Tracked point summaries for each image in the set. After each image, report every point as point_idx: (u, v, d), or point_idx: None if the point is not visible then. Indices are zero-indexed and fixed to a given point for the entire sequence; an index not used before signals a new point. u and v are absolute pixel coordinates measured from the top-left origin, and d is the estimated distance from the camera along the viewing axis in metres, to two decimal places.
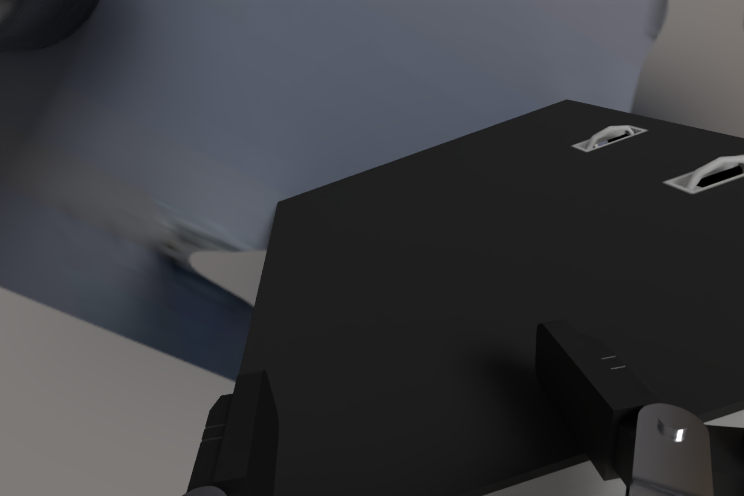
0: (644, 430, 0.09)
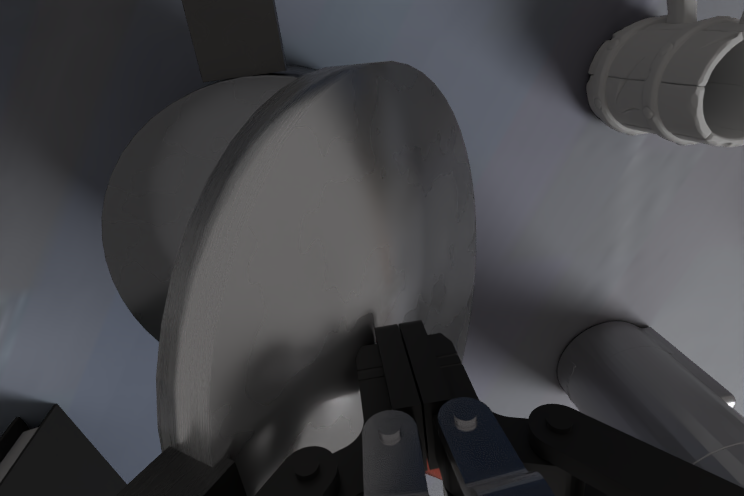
0: (439, 421, 0.10)
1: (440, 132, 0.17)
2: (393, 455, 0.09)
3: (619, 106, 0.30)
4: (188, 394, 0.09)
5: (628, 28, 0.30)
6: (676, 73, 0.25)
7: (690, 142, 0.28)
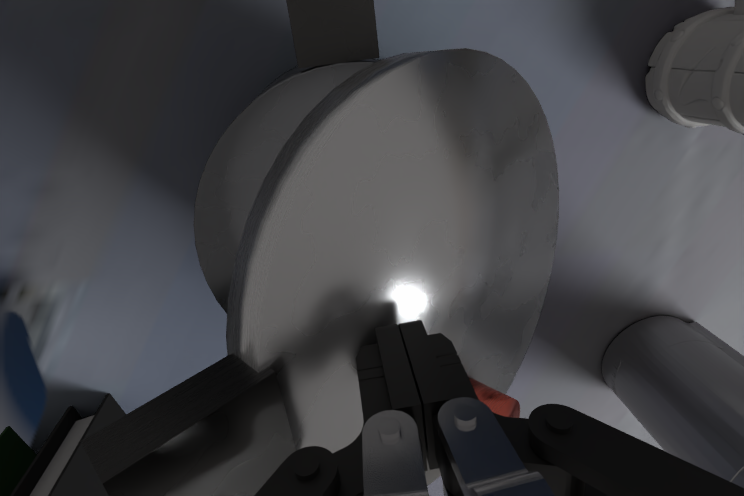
0: (439, 421, 0.10)
1: (519, 118, 0.17)
2: (393, 454, 0.09)
3: (683, 98, 0.30)
4: (247, 313, 0.11)
5: (693, 20, 0.30)
6: None
7: None
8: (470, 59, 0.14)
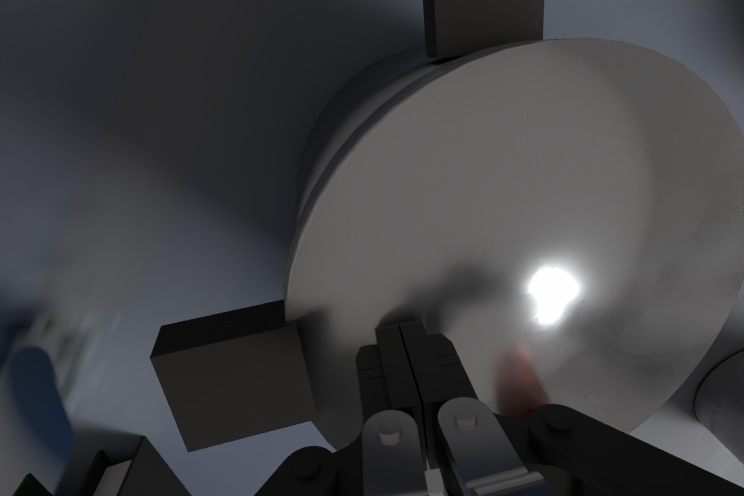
0: (439, 421, 0.10)
1: (681, 126, 0.14)
2: (393, 455, 0.09)
3: None
4: (289, 270, 0.13)
5: None
6: None
7: None
8: (594, 51, 0.12)
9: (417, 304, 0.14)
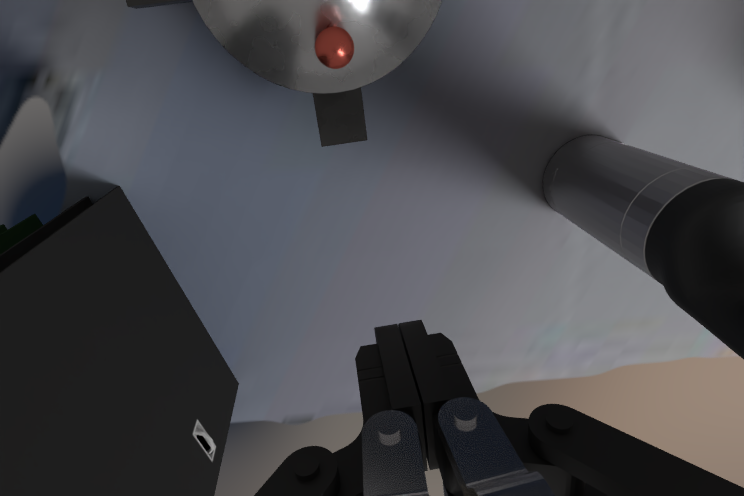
0: (439, 421, 0.10)
1: None
2: (392, 455, 0.09)
3: None
4: None
5: None
6: None
7: None
8: None
9: None
